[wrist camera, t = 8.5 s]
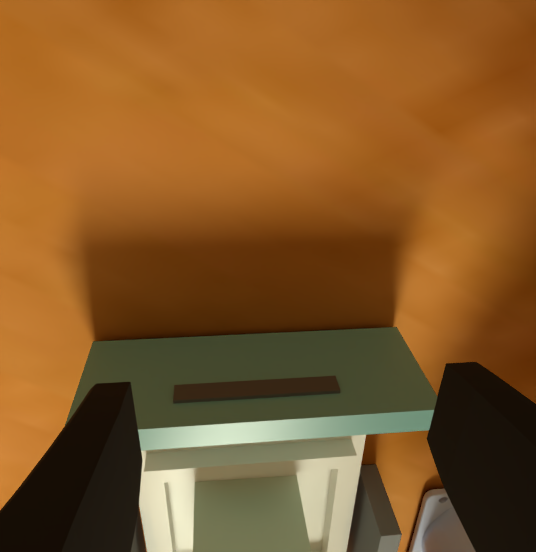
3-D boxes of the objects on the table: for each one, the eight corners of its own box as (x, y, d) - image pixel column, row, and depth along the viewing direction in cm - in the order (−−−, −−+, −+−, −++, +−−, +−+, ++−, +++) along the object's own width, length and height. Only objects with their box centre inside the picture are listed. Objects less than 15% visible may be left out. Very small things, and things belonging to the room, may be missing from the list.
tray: (397, 324, 21) (445, 406, 17) (357, 542, 29) (383, 637, 25) (92, 338, 20) (61, 431, 16) (135, 563, 28) (122, 667, 24)
